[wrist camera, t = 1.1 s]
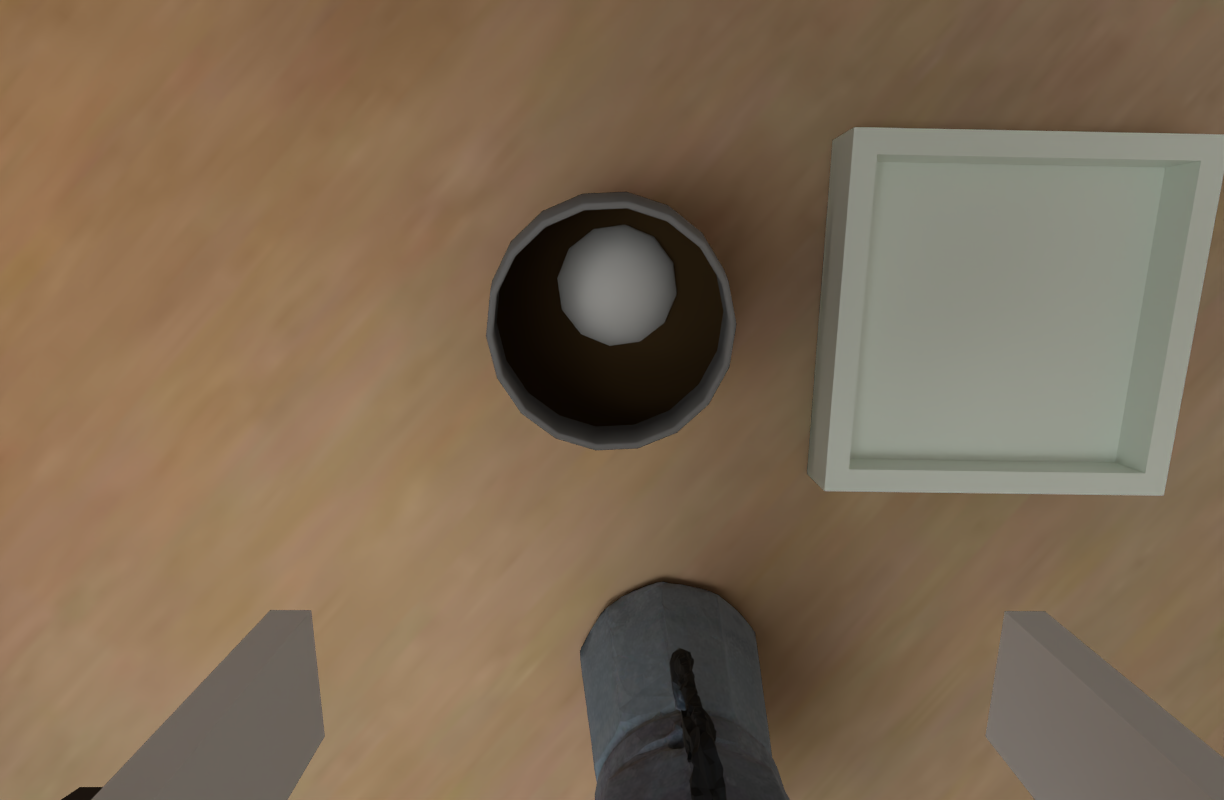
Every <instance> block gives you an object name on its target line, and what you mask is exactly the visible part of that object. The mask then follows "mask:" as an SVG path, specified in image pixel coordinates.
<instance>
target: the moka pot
mask: <svg viewBox="0 0 1224 800" xmlns="http://www.w3.org/2000/svg"><path fill="white" fill-rule="evenodd" d="M580 660H581V668H582V677H583V683H584V691H585V698H586V705H587V714H588V721H589V728H590V735H591V742H592V752H593V761H594V769H595V775H596V780H597V786H596V792H595V800H790V799H789V797H788V796H787V794H786V792H785V790H784V787H783V784H782V781H781V778H780V775H779V772H778V769H777V766H776V764H775V762H774V760H773V758H772V753H771V745H770V738H769V730H768V723H767V715H766V709H765V702H764V694H763V687H762V679H761V672H760V664H759V657H758V650H757V643H756V637H755V632H754V631H753V629H752V628H751V626H750V625H749V624H748V623H747V621H746V620H745V619H744V618H743V616H742V615H741V614H740V613H739V612H738V611H737V610H736V609H735V608H733V607H732V606H731V605H730V604H729V603H727V602H726V601H725V600H724V599H723V598H721V597H720V596H719V595H717V594H714V593H712V592H710V591H707V590H704V589H701V588H695V587H690V586H686V585H681V584H671V583H666V582H658V583H655V584H652V585H648V586H645V587H643V588H641V589H639V590H635V591H633V592H631V593H629V594H627V595H625V596H623V597H621V598H620V599H619V600H617V601H616V602H614V603H613V604H611V605H610V606H608V607H607V608H606V609H605V610H604V611H603V612H602V613H601V615H600V616H599V618H598V619H597V621H596V623H595V624H594V626H593V628H592V629H591V631H590V633H589V634H588V636H587V638H586V640H585V642H584V644H583V646H582V647H581V650H580Z"/></svg>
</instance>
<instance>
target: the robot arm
mask: <svg viewBox="0 0 1224 800" xmlns="http://www.w3.org/2000/svg"><path fill="white" fill-rule="evenodd" d="M324 737H325V735H324V725H323V716H322V707H321V697H320V688H319V679H318V669H317V660H316V651H315V641H314V632H313V622H312V613H311V610H270V611H269V612H268V613H267V614H266V615H265V616H264V617H263V619H262V620H261V621H260V622H259V623H258V624H257V625H256V626H255V627H254V628H253V629H252V630H251V631H250V632H249V633H248V634H247V635H246V637H245V638H244V639H243V640H242V641H241V642H240V643H239V644H238V645H237V646H236V647H235V648H234V649H233V650H232V651H231V652H230V653H229V654H228V656H227V657H226V658H225V659H224V660H223V661H222V662H221V663H220V664H219V665H218V666H217V667H216V668H215V669H214V670H213V671H212V672H211V674H210V675H209V676H208V677H207V678H206V679H205V680H204V681H203V682H202V683H201V684H200V685H199V686H198V687H197V688H196V689H195V690H194V691H193V693H192V694H191V695H190V696H189V697H188V698H187V699H186V700H185V701H184V702H183V703H182V704H181V705H180V706H179V707H178V708H177V709H176V711H175V712H174V713H173V714H172V715H171V716H170V717H169V718H168V719H167V720H166V721H165V722H164V723H163V724H162V725H161V726H160V727H159V729H158V730H157V731H156V732H155V733H154V734H153V735H152V736H151V737H150V738H149V739H148V740H147V741H146V742H145V743H144V744H143V745H142V746H141V748H140V749H139V750H138V751H137V752H136V753H135V754H134V755H133V756H132V757H131V758H130V759H129V760H128V761H127V762H126V763H125V764H124V766H123V767H122V768H121V769H120V770H119V771H118V772H117V773H116V774H115V775H114V776H113V777H112V778H111V779H110V780H109V781H108V782H107V784H106V785H105V786H104V787H79V788H78V789H76V790H75V791H73V792H72V793H71V794H69V795H68V796H66V797H65V798H63V799H62V800H288V798H289V796H290V794H291V793H292V791H293V789H294V788H295V786H296V784H297V783H298V781H299V779H300V777H301V776H302V774H303V772H304V771H305V769H306V767H307V766H308V764H309V762H310V760H311V759H312V757H313V755H314V754H315V752H316V750H317V748H318V747H319V745H320V743H321V742H322V740H323V738H324ZM986 738H987V739H988V740H989V741H990V743H991V744H992V745H993V747H994V748H995V749H996V750H997V752H998V753H999V754H1000V756H1001V757H1002V758H1003V759H1004V761H1005V762H1006V763H1007V764H1008V766H1009V767H1010V768H1011V770H1012V771H1013V772H1014V773H1015V775H1016V776H1017V777H1018V779H1019V780H1020V781H1021V782H1022V784H1023V785H1024V786H1025V788H1026V789H1027V790H1028V791H1029V793H1030V794H1031V795H1032V797H1033V798H1034V799H1035V800H1224V758H1223V757H1222V756H1220V755H1219V754H1218V753H1217V752H1216V751H1214V750H1213V749H1212V748H1211V747H1210V746H1208V745H1207V744H1206V743H1205V742H1203V741H1202V740H1201V739H1200V738H1199V737H1197V736H1196V735H1195V734H1194V733H1192V732H1191V731H1190V730H1189V729H1188V728H1186V727H1185V726H1184V725H1183V724H1182V723H1180V722H1179V721H1178V720H1177V719H1175V718H1174V717H1173V716H1172V715H1171V714H1169V713H1168V712H1167V711H1166V710H1164V709H1163V708H1162V707H1161V706H1160V705H1158V704H1157V703H1156V702H1155V701H1153V700H1152V699H1151V698H1150V697H1149V696H1147V695H1146V694H1145V693H1144V692H1143V691H1141V690H1140V689H1139V688H1138V687H1136V686H1135V685H1134V684H1133V683H1132V682H1130V681H1129V680H1128V679H1127V678H1125V677H1124V676H1123V675H1122V674H1121V673H1119V672H1118V671H1117V670H1116V669H1114V668H1113V667H1112V666H1111V665H1110V664H1108V663H1107V662H1106V661H1105V660H1104V659H1102V658H1101V657H1100V656H1099V655H1097V654H1096V653H1095V652H1094V651H1093V650H1091V649H1090V648H1089V647H1088V646H1086V645H1085V644H1084V643H1083V642H1082V641H1080V640H1079V639H1078V638H1077V637H1075V636H1074V635H1073V634H1072V633H1071V632H1069V631H1068V630H1067V629H1066V628H1065V627H1063V626H1062V625H1061V624H1060V623H1058V622H1057V621H1056V620H1055V619H1054V618H1052V617H1051V616H1050V615H1049V614H1047V613H1046V612H1045V611H1005V612H1004V619H1003V625H1002V632H1001V638H1000V645H999V652H998V658H997V665H996V671H995V678H994V684H993V691H992V697H991V704H990V711H989V717H988V724H987V730H986Z"/></svg>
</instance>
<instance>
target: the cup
mask: <svg viewBox="0 0 1224 800" xmlns="http://www.w3.org/2000/svg"><path fill="white" fill-rule="evenodd" d="M735 330H736V319H735V314H734V309H733V303H732V298H731V293H730V287H729V282H728V279H727V276H726V274H725V271H724V269H723V267H722V266H721V264H720V262H719V261H718V259H717V257H716V256H715V254H714V252H713V250H712V249H711V247H710V245H709V244H708V242H707V240H706V239H705V237H704V235H703V234H702V232H700V231H699V230H698V229H697V228H695V227H694V226H693V225H692V224H690V223H689V222H688V221H687V220H685V219H684V218H683V217H682V216H681V215H679V214H678V213H677V212H676V211H674V210H673V209H672V208H671V207H669V206H668V205H665V204H662V203H659V202H656V201H653V200H650V199H647V198H644V197H641V196H638V195H635V194H632V193H629V192H610V193H588V194H581V195H578V196H576V197H574V198H572V199H569V200H567V201H565V202H562V203H560V204H558V205H555V206H553V207H551V208H549V209H546V210H544V211H542V212H541V213H540V214H539V215H538V216H537V217H536V218H535V219H534V220H533V221H532V222H531V223H530V224H529V225H528V226H527V227H525V228H524V229H523V230H522V231H521V232H520V233H519V234H518V235H517V236H516V237H515V238H514V239H513V240H512V241H511V242H510V245H509V247H508V249H507V251H506V253H505V255H504V257H503V259H502V261H501V264H500V266H499V268H498V270H497V272H496V274H495V276H494V278H493V280H492V285H491V291H490V300H489V311H488V322H487V333H486V337H487V341H488V345H489V349H490V353H491V356H492V360H493V364H494V368H495V372H496V376H497V378H498V380H499V381H500V383H501V384H502V386H503V387H504V389H505V390H506V392H507V393H508V395H509V396H510V397H511V399H512V400H513V402H514V403H515V405H516V406H517V408H518V409H519V411H520V412H521V413H522V414H523V415H524V416H526V417H527V418H528V419H530V420H531V421H533V422H534V423H535V424H537V425H538V426H539V427H541V428H542V429H544V430H545V431H546V432H548V433H549V434H550V435H552V436H553V437H555V438H556V439H560V440H563V441H566V442H570V443H573V444H576V445H580V446H583V447H586V448H590V449H593V450H613V449H634V448H640V447H642V446H645V445H647V444H650V443H652V442H655V441H657V440H660V439H662V438H665V437H667V436H669V435H672V434H674V433H677V432H678V431H679V430H680V429H681V428H682V427H684V426H685V425H686V424H687V423H688V422H689V421H690V420H692V419H693V418H694V417H695V416H696V415H697V414H698V413H699V412H701V411H702V410H703V409H704V408H705V407H706V406H707V405H709V403H710V401H711V399H712V397H713V396H714V394H715V392H716V390H717V388H718V387H719V385H720V383H721V381H722V379H723V378H724V376H725V374H726V372H727V370H728V369H729V366H730V360H731V354H732V348H733V342H734V336H735Z"/></svg>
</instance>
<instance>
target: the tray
mask: <svg viewBox="0 0 1224 800" xmlns="http://www.w3.org/2000/svg"><path fill="white" fill-rule="evenodd" d="M1223 174H1224V135H1222V134H1173V133H1123V132H1073V131H1023V130H973V129H923V128H874V127H854V128H852V129H850V130H849V131H847V132H845V133H844V134H842V135H840V136H838V137H837V138H835V139H833V141H832V154H831V167H830V180H829V193H828V206H827V219H826V232H825V245H824V258H823V271H822V284H821V298H820V311H819V324H818V337H817V350H816V363H815V376H814V389H813V402H812V415H811V428H810V441H809V454H808V467H807V474H808V475H809V476H810V477H811V478H812V479H813V480H814V481H815V482H816V483H817V484H818V485H819V486H820V487H821V488H822V489H823V490H824V491H852V492H928V493H1003V494H1079V495H1154V496H1164V492H1165V486H1166V481H1167V476H1168V470H1169V465H1170V459H1171V454H1172V449H1173V443H1174V438H1175V432H1176V427H1177V422H1178V416H1179V411H1180V406H1181V400H1182V395H1183V389H1184V384H1185V379H1186V373H1187V368H1188V363H1189V357H1190V352H1191V346H1192V341H1193V336H1194V330H1195V325H1196V320H1197V314H1198V309H1199V303H1200V298H1201V293H1202V287H1203V282H1204V277H1205V271H1206V266H1207V260H1208V255H1209V250H1210V244H1211V239H1212V234H1213V228H1214V223H1215V217H1216V212H1217V207H1218V201H1219V196H1220V191H1221V185H1222V180H1223Z"/></svg>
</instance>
